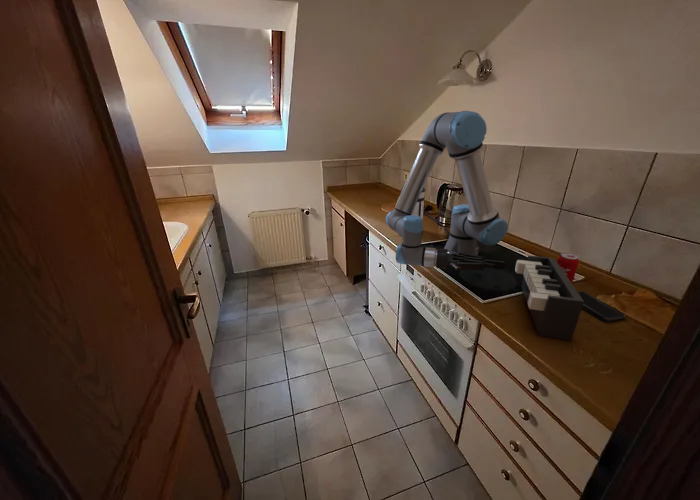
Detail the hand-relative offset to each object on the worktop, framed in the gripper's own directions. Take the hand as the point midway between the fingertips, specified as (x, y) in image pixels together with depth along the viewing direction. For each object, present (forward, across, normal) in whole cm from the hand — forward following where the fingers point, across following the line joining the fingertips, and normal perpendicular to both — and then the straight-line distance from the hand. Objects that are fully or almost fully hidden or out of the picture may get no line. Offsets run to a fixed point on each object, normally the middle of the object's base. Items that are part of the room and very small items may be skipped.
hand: (503, 265), depth 107 cm
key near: (+8, +23, -2) cm, 24 cm away
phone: (+28, +5, -10) cm, 30 cm away
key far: (+8, 0, -2) cm, 8 cm away
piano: (+12, +11, -10) cm, 19 cm away
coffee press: (-40, -52, -10) cm, 66 cm away
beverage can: (+22, -9, -10) cm, 26 cm away
